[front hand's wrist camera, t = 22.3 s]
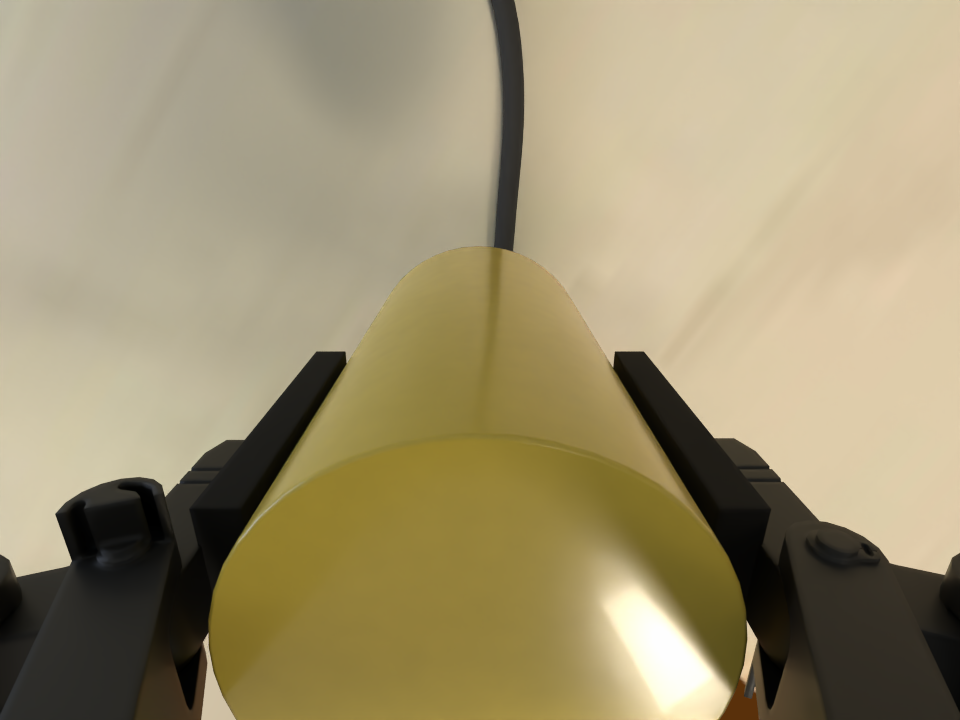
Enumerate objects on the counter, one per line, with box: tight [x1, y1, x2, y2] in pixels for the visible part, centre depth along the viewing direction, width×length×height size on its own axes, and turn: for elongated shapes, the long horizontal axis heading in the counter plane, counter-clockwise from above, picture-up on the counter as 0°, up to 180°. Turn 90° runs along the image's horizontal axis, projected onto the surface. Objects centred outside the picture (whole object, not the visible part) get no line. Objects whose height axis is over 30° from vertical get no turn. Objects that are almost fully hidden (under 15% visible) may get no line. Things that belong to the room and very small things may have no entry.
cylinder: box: [208, 246, 747, 720], centre depth 13 cm, size 7×7×12 cm
